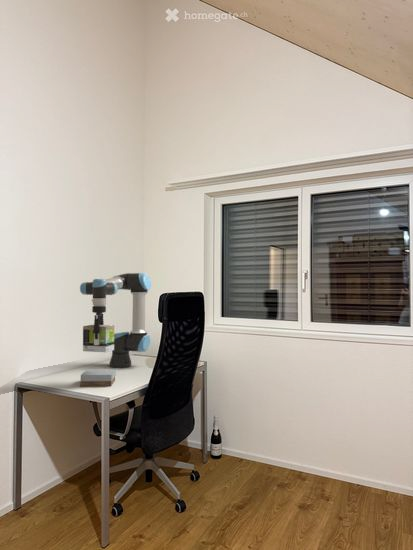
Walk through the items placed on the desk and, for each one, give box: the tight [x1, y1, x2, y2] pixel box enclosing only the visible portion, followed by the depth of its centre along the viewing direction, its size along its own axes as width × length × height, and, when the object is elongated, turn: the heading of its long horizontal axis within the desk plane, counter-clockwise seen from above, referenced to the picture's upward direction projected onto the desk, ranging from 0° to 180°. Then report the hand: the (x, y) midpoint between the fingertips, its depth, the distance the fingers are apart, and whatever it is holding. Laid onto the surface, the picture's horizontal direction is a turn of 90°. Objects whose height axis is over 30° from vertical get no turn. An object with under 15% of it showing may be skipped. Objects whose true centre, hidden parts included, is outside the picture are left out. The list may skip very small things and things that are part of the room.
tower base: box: [79, 376, 116, 388], centre depth 228 cm, size 14×17×4 cm
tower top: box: [80, 368, 117, 381], centre depth 228 cm, size 14×17×4 cm
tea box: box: [82, 324, 115, 353], centre depth 229 cm, size 15×10×15 cm, turn 73°
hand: (98, 343), depth 229 cm, fingers closed on tea box, 12 cm apart
